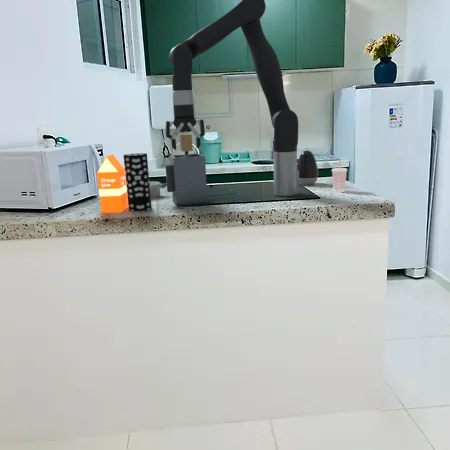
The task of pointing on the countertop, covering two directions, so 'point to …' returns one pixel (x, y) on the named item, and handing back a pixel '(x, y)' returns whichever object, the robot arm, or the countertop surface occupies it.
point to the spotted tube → (137, 182)
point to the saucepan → (156, 188)
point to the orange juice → (112, 186)
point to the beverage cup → (339, 178)
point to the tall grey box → (187, 180)
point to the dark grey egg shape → (307, 168)
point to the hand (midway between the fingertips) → (186, 148)
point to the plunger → (186, 143)
